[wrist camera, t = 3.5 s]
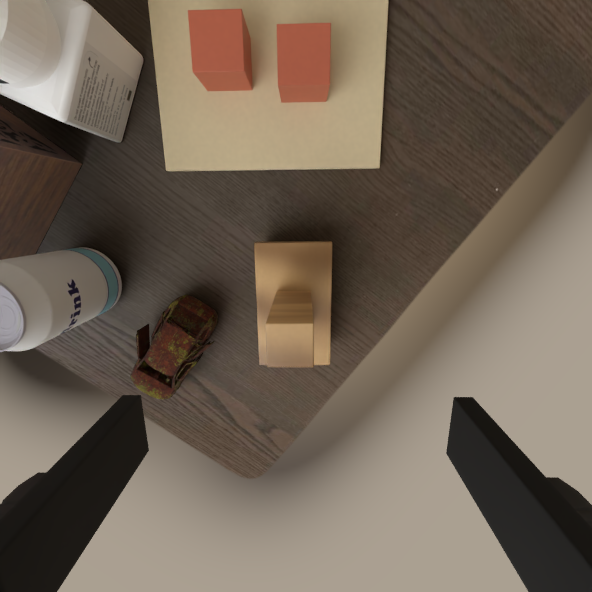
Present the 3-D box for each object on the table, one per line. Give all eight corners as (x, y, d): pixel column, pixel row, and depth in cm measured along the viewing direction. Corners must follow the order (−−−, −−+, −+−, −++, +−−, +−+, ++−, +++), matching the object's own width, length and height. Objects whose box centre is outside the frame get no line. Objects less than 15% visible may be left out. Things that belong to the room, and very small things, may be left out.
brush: (259, 239, 32) (232, 256, 20) (329, 238, 32) (345, 255, 20) (263, 349, 35) (242, 423, 23) (327, 349, 35) (340, 424, 23)
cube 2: (327, 49, 27) (331, 22, 23) (326, 102, 28) (330, 84, 24) (280, 50, 27) (276, 23, 23) (281, 102, 28) (277, 85, 24)
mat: (389, -49, 26) (391, -55, 25) (378, 168, 30) (379, 167, 29) (146, -42, 26) (142, -48, 26) (168, 171, 30) (165, 170, 30)
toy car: (173, 279, 33) (152, 290, 28) (231, 314, 34) (220, 331, 29) (125, 366, 36) (98, 390, 31) (180, 397, 37) (161, 424, 32)
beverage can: (121, 319, 34) (28, 373, 23) (57, 299, 34) (-70, 344, 22) (132, 258, 33) (39, 284, 21) (66, 237, 32) (-67, 251, 21)
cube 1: (250, 37, 27) (241, 8, 23) (252, 90, 28) (244, 71, 24) (203, 38, 27) (187, 9, 23) (207, 91, 28) (192, 72, 24)
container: (42, 108, 29) (-154, 30, 17) (61, 16, 27) (-144, -149, 15) (122, 145, 30) (-9, 96, 17) (146, 57, 28) (18, -68, 16)
